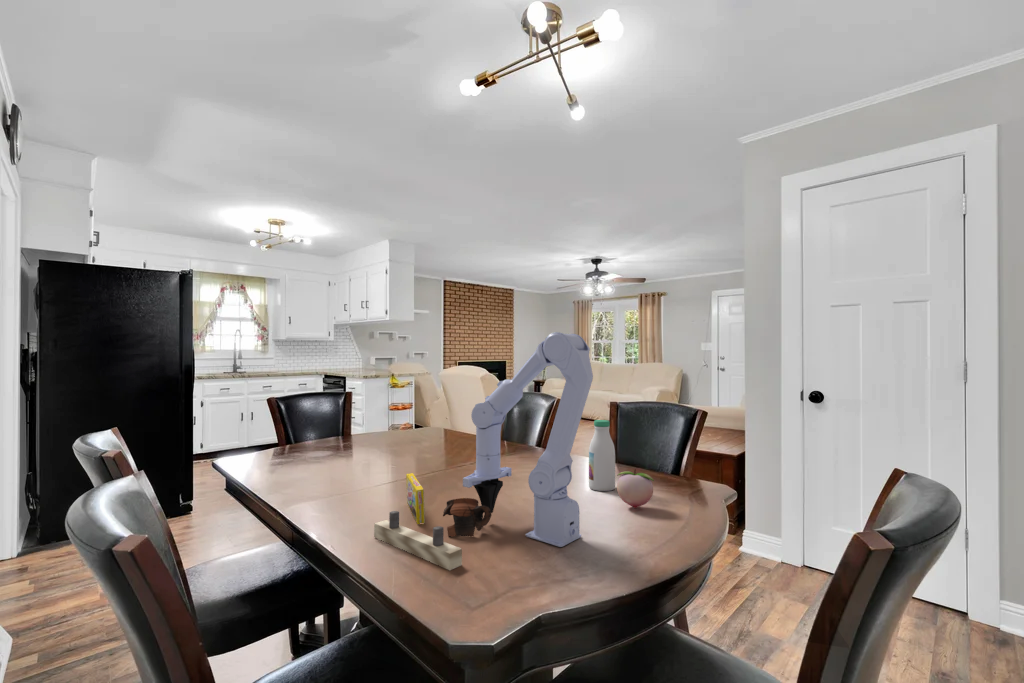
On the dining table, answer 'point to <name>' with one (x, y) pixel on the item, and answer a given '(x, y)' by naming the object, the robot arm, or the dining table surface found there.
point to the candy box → (415, 498)
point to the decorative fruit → (635, 488)
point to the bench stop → (419, 542)
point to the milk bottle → (602, 458)
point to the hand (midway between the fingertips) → (487, 512)
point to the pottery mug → (466, 516)
